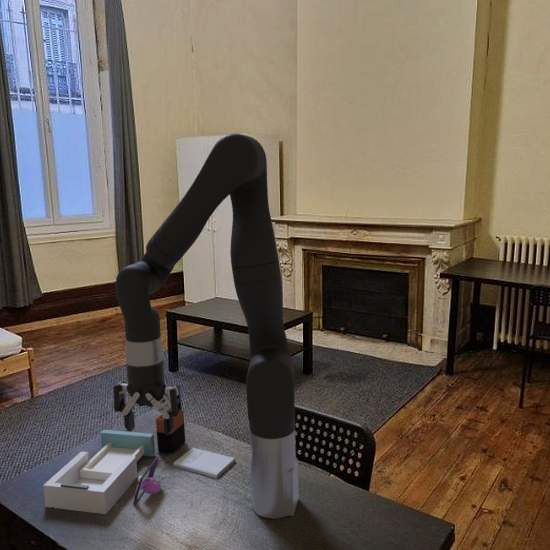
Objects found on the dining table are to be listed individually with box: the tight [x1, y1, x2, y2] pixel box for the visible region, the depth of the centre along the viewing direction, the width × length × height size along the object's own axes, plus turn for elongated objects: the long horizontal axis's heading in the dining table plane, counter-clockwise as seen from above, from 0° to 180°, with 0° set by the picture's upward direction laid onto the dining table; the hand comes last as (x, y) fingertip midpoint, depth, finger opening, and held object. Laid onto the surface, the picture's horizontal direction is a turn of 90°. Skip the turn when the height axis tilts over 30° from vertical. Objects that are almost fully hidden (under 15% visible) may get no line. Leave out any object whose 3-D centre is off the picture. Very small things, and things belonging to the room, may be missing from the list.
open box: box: [43, 451, 139, 515], centre depth 114 cm, size 14×14×5 cm
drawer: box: [80, 429, 156, 481], centre depth 124 cm, size 14×14×5 cm
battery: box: [155, 409, 186, 455], centre depth 132 cm, size 4×7×10 cm, turn 159°
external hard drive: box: [173, 447, 236, 479], centre depth 125 cm, size 2×8×12 cm
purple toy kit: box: [132, 455, 165, 505], centre depth 113 cm, size 7×5×9 cm
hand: (149, 431), depth 110 cm, fingers open, 8 cm apart
